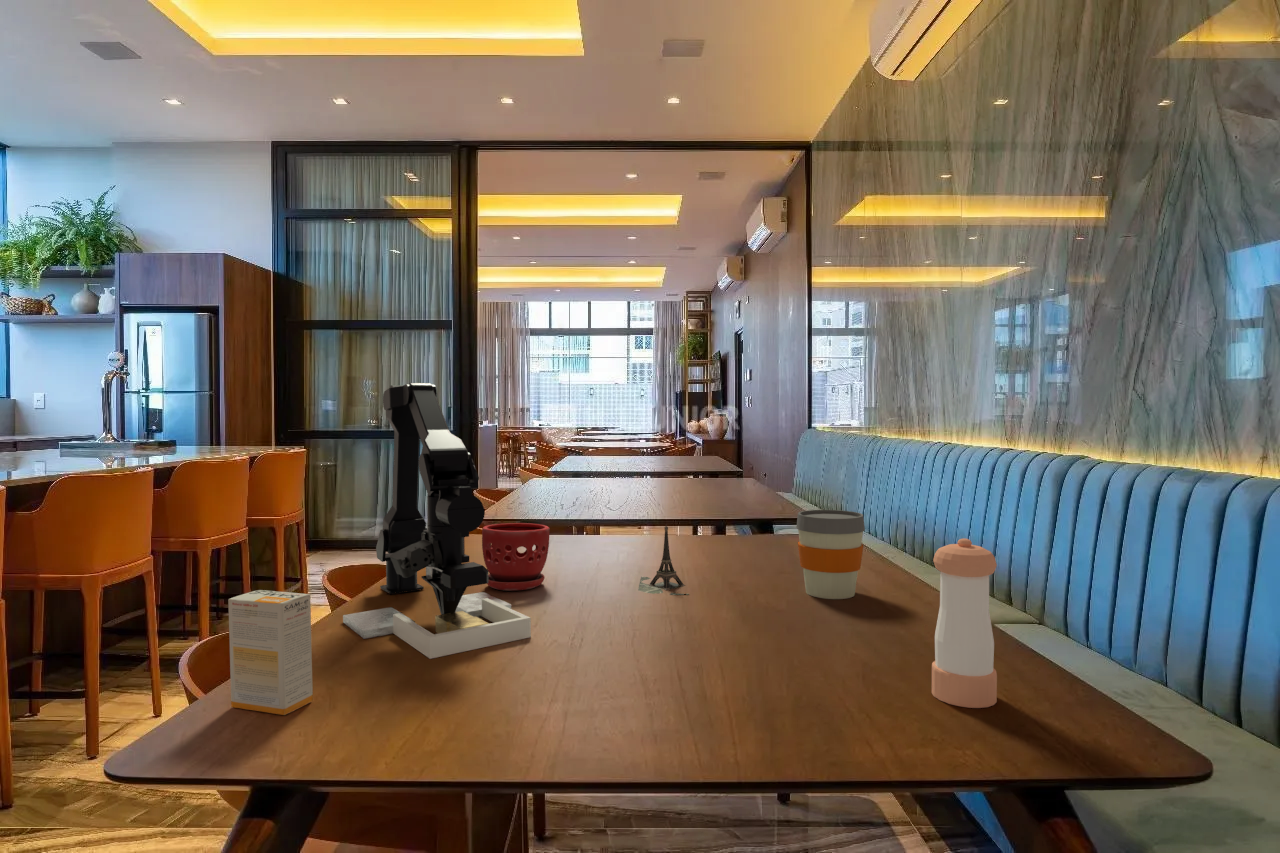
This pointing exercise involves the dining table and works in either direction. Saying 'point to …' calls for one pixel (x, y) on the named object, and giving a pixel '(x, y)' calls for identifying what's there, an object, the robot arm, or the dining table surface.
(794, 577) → the dining table surface
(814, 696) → the dining table surface
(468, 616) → the tan block
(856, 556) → the reusable coffee cup
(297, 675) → the supplement box
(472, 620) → the beige wooden block
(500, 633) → the tray
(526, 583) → the plant pot
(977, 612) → the salt shaker
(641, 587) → the eiffel tower figurine
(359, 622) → the plate
